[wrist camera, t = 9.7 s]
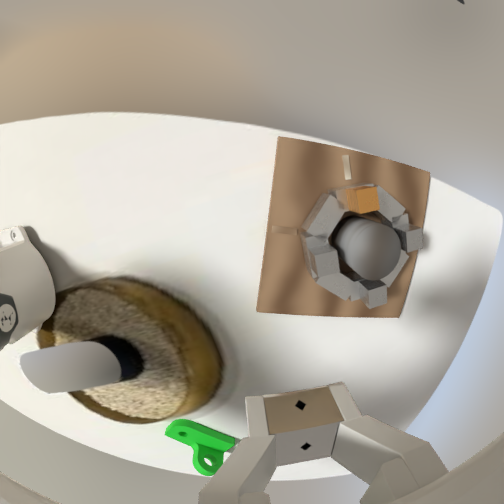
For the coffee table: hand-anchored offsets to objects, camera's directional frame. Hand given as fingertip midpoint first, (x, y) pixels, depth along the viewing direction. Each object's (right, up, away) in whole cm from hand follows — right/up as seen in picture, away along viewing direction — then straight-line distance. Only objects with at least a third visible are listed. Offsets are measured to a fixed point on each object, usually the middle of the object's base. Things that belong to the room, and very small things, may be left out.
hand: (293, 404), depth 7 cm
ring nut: (+12, +6, +25) cm, 28 cm away
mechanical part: (-11, -30, +36) cm, 48 cm away
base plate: (+11, +7, +27) cm, 30 cm away
